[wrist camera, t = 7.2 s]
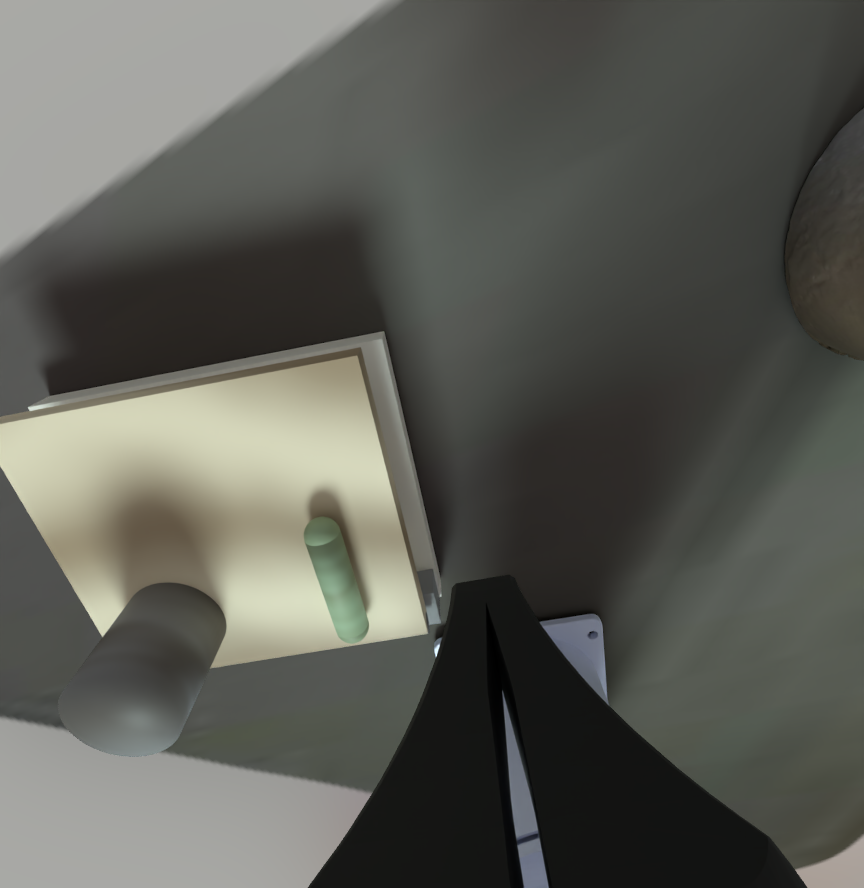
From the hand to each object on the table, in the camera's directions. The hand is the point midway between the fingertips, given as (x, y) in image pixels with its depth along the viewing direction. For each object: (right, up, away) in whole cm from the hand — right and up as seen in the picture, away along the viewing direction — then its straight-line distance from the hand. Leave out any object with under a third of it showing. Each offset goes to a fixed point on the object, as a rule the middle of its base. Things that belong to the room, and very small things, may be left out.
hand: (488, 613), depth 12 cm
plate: (-8, +1, +7) cm, 11 cm away
